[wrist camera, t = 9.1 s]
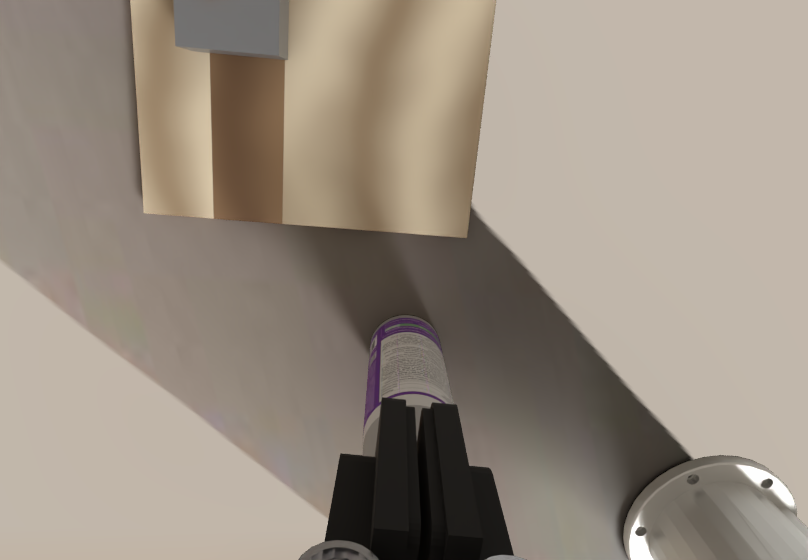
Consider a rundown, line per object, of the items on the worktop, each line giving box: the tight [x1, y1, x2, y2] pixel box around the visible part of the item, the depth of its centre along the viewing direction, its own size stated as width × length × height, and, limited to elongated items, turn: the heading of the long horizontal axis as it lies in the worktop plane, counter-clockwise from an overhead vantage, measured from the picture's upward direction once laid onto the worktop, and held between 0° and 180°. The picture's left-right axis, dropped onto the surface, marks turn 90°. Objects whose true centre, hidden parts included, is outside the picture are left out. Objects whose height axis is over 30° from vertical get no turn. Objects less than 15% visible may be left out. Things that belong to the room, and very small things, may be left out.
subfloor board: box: [130, 0, 496, 238], centre depth 30 cm, size 19×16×1 cm
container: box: [363, 315, 454, 457], centre depth 28 cm, size 5×5×15 cm
